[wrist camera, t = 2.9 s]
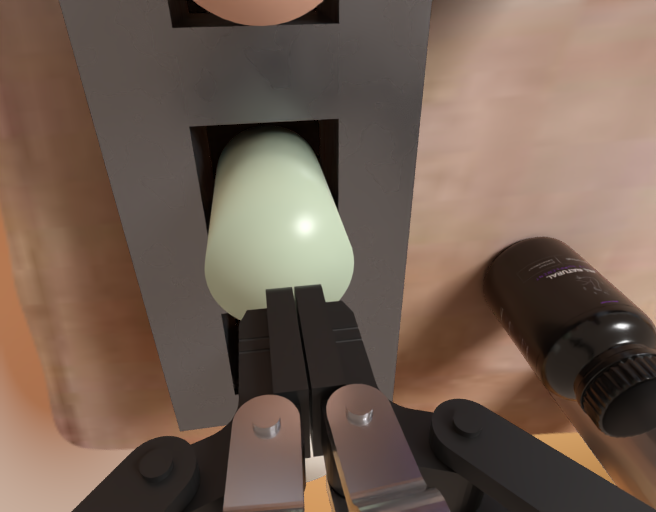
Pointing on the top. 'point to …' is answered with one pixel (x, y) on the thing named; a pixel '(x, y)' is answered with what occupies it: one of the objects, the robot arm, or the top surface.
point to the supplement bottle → (577, 333)
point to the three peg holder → (240, 108)
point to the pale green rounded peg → (273, 222)
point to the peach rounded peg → (259, 10)
